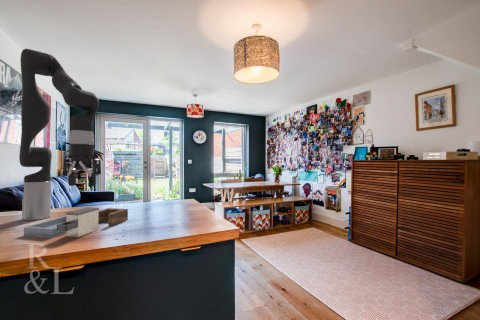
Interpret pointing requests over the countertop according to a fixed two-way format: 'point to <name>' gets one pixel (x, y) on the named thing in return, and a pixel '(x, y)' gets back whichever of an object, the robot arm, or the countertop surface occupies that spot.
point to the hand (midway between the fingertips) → (81, 186)
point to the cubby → (113, 216)
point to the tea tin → (80, 222)
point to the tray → (45, 228)
